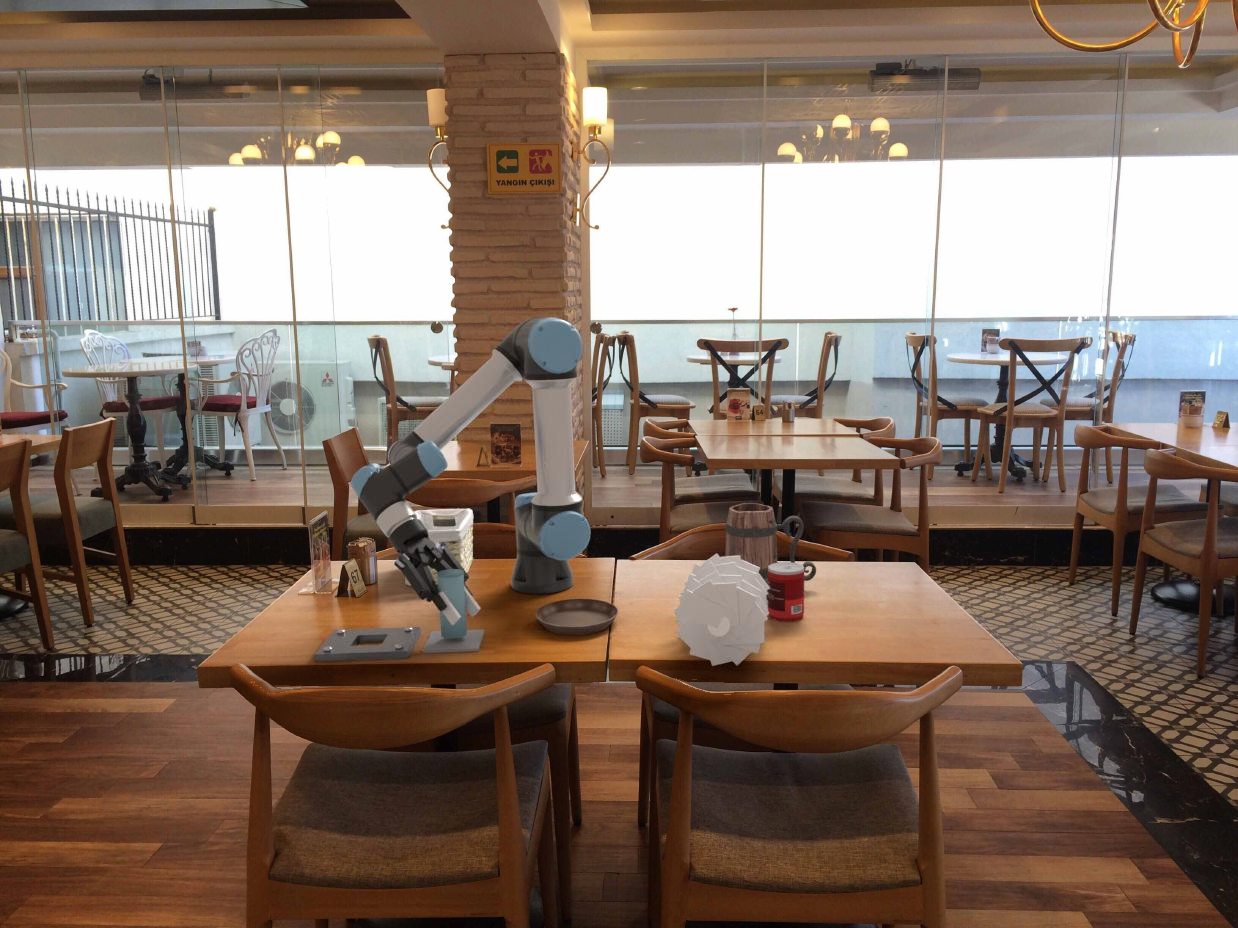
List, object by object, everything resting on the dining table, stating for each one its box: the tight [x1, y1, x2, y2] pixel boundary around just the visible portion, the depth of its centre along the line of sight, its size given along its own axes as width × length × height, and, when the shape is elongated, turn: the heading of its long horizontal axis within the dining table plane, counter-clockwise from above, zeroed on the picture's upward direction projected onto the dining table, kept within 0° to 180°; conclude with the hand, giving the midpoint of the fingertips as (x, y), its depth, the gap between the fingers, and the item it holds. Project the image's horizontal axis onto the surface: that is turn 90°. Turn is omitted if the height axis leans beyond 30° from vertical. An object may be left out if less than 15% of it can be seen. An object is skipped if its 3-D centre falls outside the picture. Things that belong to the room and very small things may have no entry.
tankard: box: [724, 502, 817, 601], centre depth 220 cm, size 24×17×20 cm
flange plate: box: [314, 626, 422, 662], centre depth 191 cm, size 18×14×2 cm
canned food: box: [767, 561, 805, 623], centre depth 202 cm, size 8×8×11 cm
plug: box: [437, 569, 468, 639], centre depth 191 cm, size 5×5×13 cm
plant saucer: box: [535, 597, 619, 636], centre depth 202 cm, size 18×18×3 cm
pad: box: [422, 629, 485, 654], centre depth 192 cm, size 11×11×1 cm
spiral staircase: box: [673, 553, 770, 667], centre depth 183 cm, size 18×18×25 cm
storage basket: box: [404, 507, 475, 587], centre depth 242 cm, size 24×16×15 cm
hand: (466, 616), depth 189 cm, fingers closed on plug, 5 cm apart
